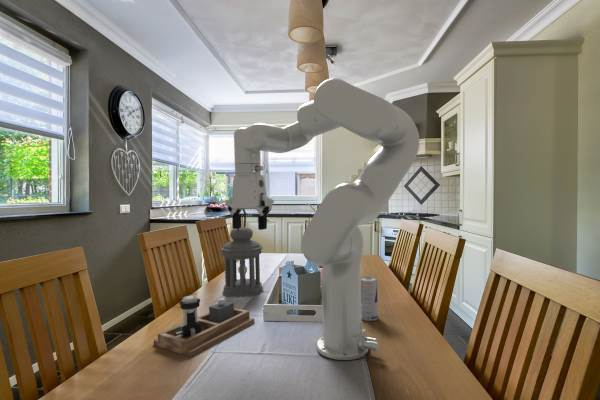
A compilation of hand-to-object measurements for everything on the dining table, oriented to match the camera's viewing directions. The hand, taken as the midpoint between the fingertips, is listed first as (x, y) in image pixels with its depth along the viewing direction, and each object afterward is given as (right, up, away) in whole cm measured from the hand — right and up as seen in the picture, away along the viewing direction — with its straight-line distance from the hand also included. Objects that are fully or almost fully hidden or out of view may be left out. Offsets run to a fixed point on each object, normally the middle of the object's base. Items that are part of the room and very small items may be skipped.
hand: (249, 228), depth 99 cm
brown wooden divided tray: (-11, -29, -5) cm, 31 cm away
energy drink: (+36, -28, +3) cm, 45 cm away
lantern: (-8, -28, +35) cm, 45 cm away
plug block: (-8, -27, 0) cm, 28 cm away
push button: (-15, -28, -9) cm, 33 cm away
